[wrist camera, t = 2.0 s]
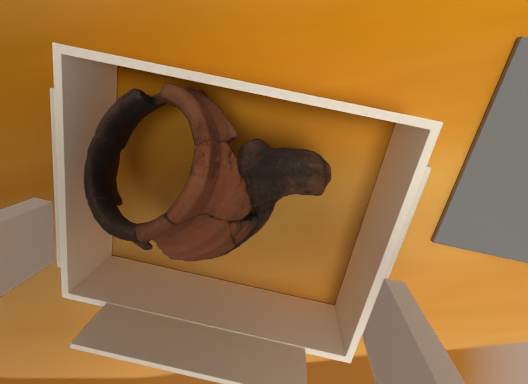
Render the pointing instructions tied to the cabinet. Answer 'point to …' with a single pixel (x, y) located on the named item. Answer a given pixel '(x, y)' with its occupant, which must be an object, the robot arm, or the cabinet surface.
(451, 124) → the cabinet surface
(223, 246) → the pottery mug
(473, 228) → the slate mat
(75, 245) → the carton
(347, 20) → the cabinet surface
